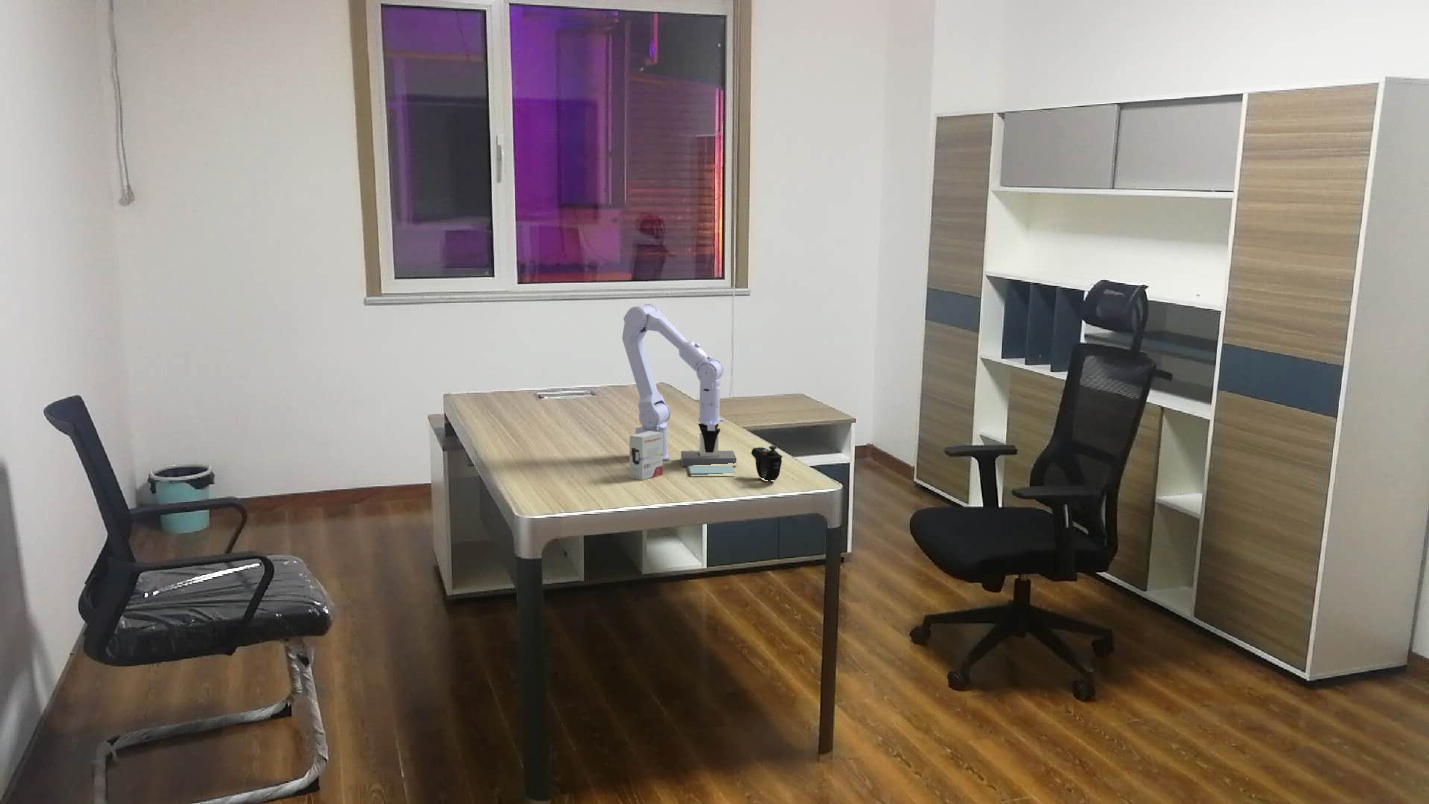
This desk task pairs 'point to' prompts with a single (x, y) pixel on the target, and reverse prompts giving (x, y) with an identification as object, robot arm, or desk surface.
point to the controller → (767, 462)
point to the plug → (702, 448)
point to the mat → (710, 470)
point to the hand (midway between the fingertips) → (708, 450)
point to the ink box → (646, 455)
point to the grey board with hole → (707, 458)
